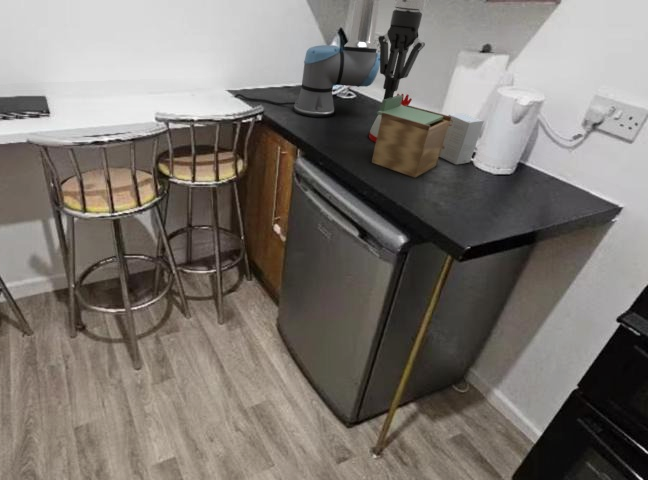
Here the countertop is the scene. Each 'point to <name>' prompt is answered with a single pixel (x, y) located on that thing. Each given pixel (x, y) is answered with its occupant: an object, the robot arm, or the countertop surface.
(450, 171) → the countertop surface
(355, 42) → the robot arm
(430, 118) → the lid
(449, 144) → the small box
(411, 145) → the case
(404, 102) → the white toy chicken
